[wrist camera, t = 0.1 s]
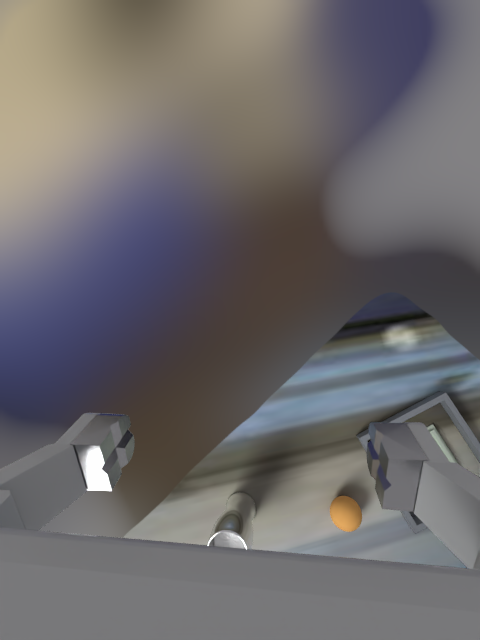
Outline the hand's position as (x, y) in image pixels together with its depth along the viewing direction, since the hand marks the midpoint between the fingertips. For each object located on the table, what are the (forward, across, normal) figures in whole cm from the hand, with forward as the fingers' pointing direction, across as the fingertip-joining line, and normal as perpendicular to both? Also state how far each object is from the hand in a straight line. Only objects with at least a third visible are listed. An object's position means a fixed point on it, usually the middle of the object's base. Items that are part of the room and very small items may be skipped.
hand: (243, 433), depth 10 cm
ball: (+34, +12, -46) cm, 58 cm away
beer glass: (+36, -7, -49) cm, 61 cm away
